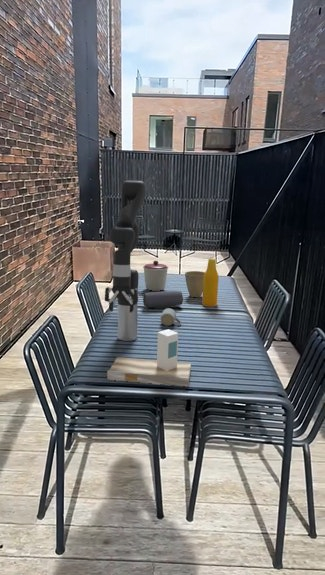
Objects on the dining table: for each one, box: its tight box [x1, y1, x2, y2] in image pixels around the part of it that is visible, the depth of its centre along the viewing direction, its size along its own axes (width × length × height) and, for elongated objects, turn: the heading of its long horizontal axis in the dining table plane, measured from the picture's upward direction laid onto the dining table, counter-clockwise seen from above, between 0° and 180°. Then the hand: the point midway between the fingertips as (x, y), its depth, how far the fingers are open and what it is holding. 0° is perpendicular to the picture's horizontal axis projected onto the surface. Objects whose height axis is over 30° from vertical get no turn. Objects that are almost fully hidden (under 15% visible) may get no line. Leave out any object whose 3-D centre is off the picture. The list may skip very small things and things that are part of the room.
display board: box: [106, 356, 192, 388], centre depth 149 cm, size 15×30×4 cm, turn 82°
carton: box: [156, 328, 179, 371], centre depth 149 cm, size 6×6×14 cm
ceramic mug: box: [160, 308, 182, 327], centre depth 206 cm, size 11×8×8 cm
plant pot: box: [184, 270, 206, 298], centre depth 261 cm, size 15×15×16 cm
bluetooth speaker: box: [142, 290, 184, 309], centre depth 235 cm, size 23×9×10 cm, turn 108°
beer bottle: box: [201, 258, 220, 308], centre depth 240 cm, size 9×9×29 cm
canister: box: [142, 260, 169, 292], centre depth 275 cm, size 18×18×21 cm
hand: (121, 311), depth 169 cm, fingers open, 8 cm apart
